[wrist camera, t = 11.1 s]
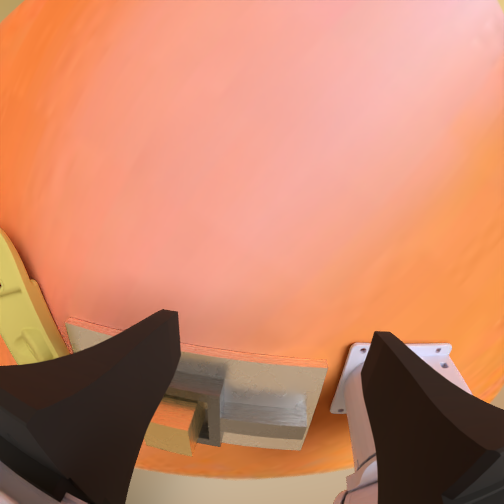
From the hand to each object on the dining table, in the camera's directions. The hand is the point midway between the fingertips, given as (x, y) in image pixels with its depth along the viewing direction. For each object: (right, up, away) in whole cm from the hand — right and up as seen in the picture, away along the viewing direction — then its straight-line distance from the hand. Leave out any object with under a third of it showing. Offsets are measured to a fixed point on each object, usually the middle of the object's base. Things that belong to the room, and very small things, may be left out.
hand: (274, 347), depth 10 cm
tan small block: (-7, -9, +13) cm, 17 cm away
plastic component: (-25, -1, +14) cm, 28 cm away
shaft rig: (-7, -10, +14) cm, 18 cm away
